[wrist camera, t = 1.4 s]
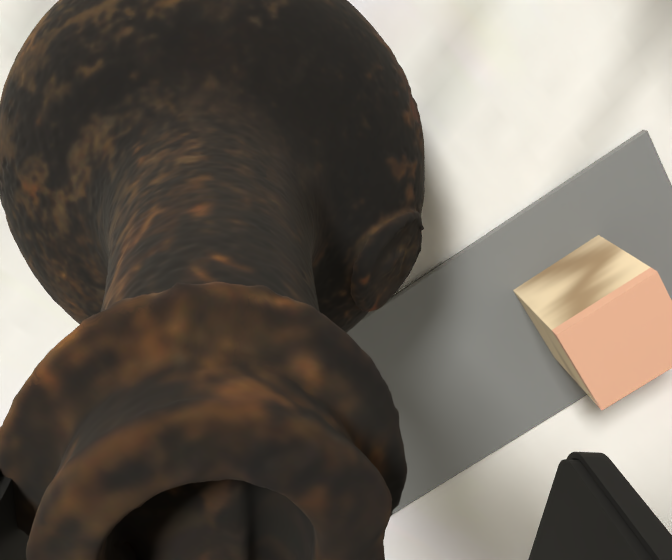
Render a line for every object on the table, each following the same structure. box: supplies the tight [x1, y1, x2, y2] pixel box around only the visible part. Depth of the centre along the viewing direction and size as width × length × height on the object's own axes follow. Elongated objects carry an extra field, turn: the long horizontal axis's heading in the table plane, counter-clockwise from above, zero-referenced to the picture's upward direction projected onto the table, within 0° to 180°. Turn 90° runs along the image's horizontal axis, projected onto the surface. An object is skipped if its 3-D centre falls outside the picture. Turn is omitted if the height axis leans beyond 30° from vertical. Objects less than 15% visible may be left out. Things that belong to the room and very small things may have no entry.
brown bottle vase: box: [0, 0, 425, 560], centre depth 20 cm, size 18×18×28 cm
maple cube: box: [513, 235, 672, 410], centre depth 36 cm, size 6×6×6 cm
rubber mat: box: [347, 130, 672, 513], centre depth 40 cm, size 28×14×1 cm, turn 124°
